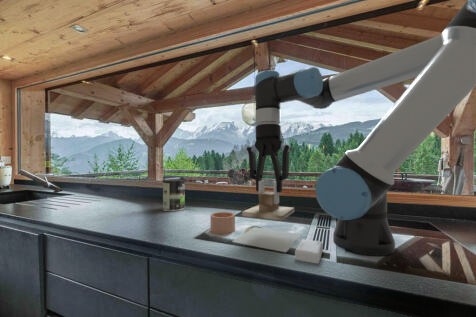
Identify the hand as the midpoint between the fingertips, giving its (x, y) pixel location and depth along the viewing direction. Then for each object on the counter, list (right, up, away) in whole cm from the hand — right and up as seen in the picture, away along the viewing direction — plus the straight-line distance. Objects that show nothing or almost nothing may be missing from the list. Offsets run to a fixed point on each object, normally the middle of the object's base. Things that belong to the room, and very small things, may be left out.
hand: (269, 202), depth 70 cm
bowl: (-14, -11, +8) cm, 20 cm away
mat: (0, -11, 0) cm, 11 cm away
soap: (+8, -12, -12) cm, 19 cm away
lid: (0, -3, 0) cm, 3 cm away
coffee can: (-40, -11, +42) cm, 59 cm away
